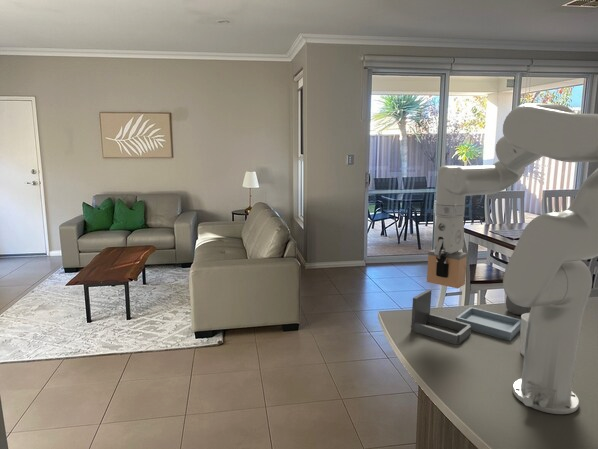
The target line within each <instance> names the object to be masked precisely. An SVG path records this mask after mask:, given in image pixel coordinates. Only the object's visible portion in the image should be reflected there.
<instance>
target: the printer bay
mask: <svg viewBox="0 0 598 449" xmlns="http://www.w3.org/2000/svg"><path fill="white" fill-rule="evenodd" d="M432 292H433V291H432V289H427V290H424V291H423V292H421V293H419V294H417V295H416V296H413V298H412V307H411V308H412V309H411V325H410V326H411V327H410V331H412V332H415V333H418V334H422V335H425V336H429V337H431V338H433V339H438V340H441V341H444V342H447V343H449V344H450V343H451V344H453V345H458V344H462V342H463V341H465V340H466V339H467V338H468V337H469V336H470V335H471V332H472V330H471V325H470V324H467V323H463V322H459V321H456V319H451V318H449V317H444V316H440V315H437V314H434V313H431V304H432V303H431V302H432ZM428 323H430V324H434V325H437V326H440V327H444V328H447V329H450V330H454V331H458V332H457V333H454V332H450V331H447V330H444V329H440V328H436V327H434V326H431V325H427V324H428Z"/></svg>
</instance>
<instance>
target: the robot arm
mask: <svg viewBox="0 0 598 449" xmlns="http://www.w3.org/2000/svg"><path fill="white" fill-rule="evenodd" d="M502 134H503V136H501V138H499V139H498V141H497V142H496V144H495V147H494V148H495V155H496V158H497V160H498V161H496V162H495V163H493V164H491V165H464V166H463V165H441V166H440V167H439V168H438V170H437V180H436V181H437V182H436V183H437V184H436V201H435V203H436V204H435V216H436V222H435V227H434V229H435V230H434V238H433V240H434V241H433V249H434V250H435V252H434V255H435V256H436V262H437V267H436V276H439V277H444V278H447V277H448V267H449V264H448V263H447V262H448V255H449V254H452V253H455V252H460V250H463V249H464V246H465V244H464V243H465V242H464V241H465V221H464V220H465V219H464V217H465V210H466V197H468V196H480V195H481V196H482V195H483V196H484V195H488V196H489V195H495V194H498V193H500V192H502V191H504V190H506V189H508V188H510V187H511V186H513V185H515V184H516V183H518V181H519V180H521V178H522V176H523V174H524V173H525V171H526V168H527V167H528V166H529V165H532V164H533V163H535V162H536V161H538V160H540V159H542V158H543V157H546V158H548V159H551V160H554V161H560V162H565V163H598V113H579V112H578V113H576V112H574V111H573V110H572V109H571V108H569V107H568V106H565V105H562V104H557V103H556V104H555V103H538V102H537V103H532V102H529V103H523V104H520V105H518V106H516V107H514V108H513V109H511V111H510V112H509V113H508V114H507V116H506V117H505V119H504V120H503V124H502ZM442 250H445V251H446V252H442ZM442 254H445V258H444V256H443V255H442ZM597 257H598V167H597V168H596V169H594V171H593V172H592V173H591V174H590V175H589V176H587V178H586V179H585V180H584V181H583V182H582V184H581V185H580V187H579V188H578V191H577V193H576V195H575V197H574V199H573V200H572V202H571V203H570V205H569V206H568V208H567V209H565V210H563V211H557V212H556V211H555V212H552V211H551V212H547V213H543V214H540V215H538V216H536V217H534V218H533V219H531V220H530V221H529V223H527V225H526V226H525V227H524V228H523V231H522V233H521V235H520V237H519V238H518V241H517V243H516V245H515V247H514V249H513V252H512V254H511V256H510V258H509V261H508V263H507V264H506V267H505V269H504V273H503V279H502V286H503V291H504V293H505V296H506V297H508V298H509V300H510V301H512V302H513V303H514V304H516V305H518V306H522V307H532V308H531V311H530V314H529V318H528V325H527V334H526V343H525V352H524V356H523V362H522V363H523V364H522V373H521V378H519V379H517V380H515V381H514V382H513V384H512V393H513V395H514V396H515V397H516V398H517V399H518V400H519V401H520V402H522V403H523V404H524V405H525V406H527V407H530V408H532V409H534V410H537V411H540V412H543V413H547V414H553V415H568V414H572V413H575V412H576V411H577V410H578V409H579V407H580V400H579V398H578V395H576V393H574V392H573V382H574V378H575V368H576V362H577V361H576V360H577V356H578V355H577V354H578V349H579V348H578V347H579V339H580V334H581V329H582V328H581V327H582V321H583V316H584V312H585V309H586V305H587V302H588V300H589V297H590V296H591V295H590V294H591V292H592V287H593V276H592V273H591V270H590V268H589V267H588V266H587V265H586V263H585V262H584V261H585V260H586V261H587V260H591V259H593V258H597Z"/></svg>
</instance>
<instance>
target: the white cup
mask: <svg viewBox="0 0 598 449" xmlns="http://www.w3.org/2000/svg"><path fill="white" fill-rule="evenodd" d="M529 314H530V313H525V314H522V315H521V316H520V319H521V329H520V331H519V332H520V333H519V334H520V335H519V339H520V340H519V342H520V344H519V345H520V348H519V353H520V355H522V356H523V357H524V352H525V343H526V334H527V325H528V318H529Z"/></svg>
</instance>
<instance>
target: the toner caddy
mask: <svg viewBox="0 0 598 449" xmlns="http://www.w3.org/2000/svg"><path fill="white" fill-rule="evenodd" d="M434 252H435V250H434V248H433V249H431V250H429V251H428V253H427V254H428V255H427V272H426V283H431V284H434V285H440V286H444V287H448V288H452V289H453V288H454V289H459V288H461V287H463V286H465V285H466V276H467V275H466V272H467V259H468V258H467V257H468V253H467V252H463V251H462V252H461V251H458V252H455V253H452V254H449V255H448V262H447V263H448V264H449V267H448V277H447V278H444V277H439V276H436V267H437V262H436V256H435V255H434ZM442 252H446V251H445V250H442ZM442 255H443V256H444V258H445V254H442Z"/></svg>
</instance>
